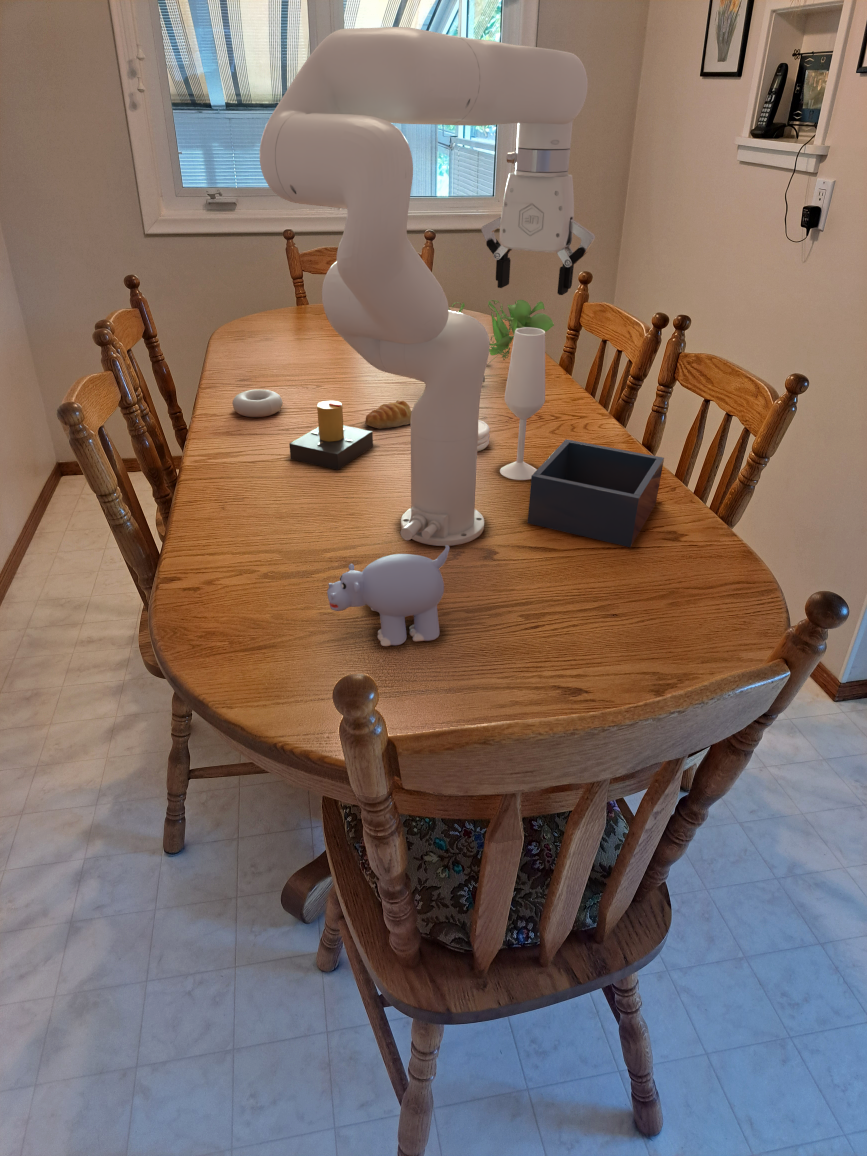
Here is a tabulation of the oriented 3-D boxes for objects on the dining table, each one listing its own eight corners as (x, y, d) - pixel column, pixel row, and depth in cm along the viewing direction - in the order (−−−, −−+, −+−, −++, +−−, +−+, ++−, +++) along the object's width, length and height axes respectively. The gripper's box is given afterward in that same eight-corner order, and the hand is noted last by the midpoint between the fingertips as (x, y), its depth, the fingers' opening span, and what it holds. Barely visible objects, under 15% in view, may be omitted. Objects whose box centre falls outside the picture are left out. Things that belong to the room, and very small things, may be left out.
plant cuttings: (389, 410, 179) (411, 376, 158) (376, 339, 180) (396, 295, 159) (528, 396, 189) (566, 362, 167) (515, 328, 190) (551, 286, 168)
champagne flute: (545, 476, 133) (559, 334, 120) (510, 482, 131) (520, 338, 118) (527, 461, 138) (538, 324, 126) (493, 466, 136) (501, 327, 124)
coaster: (494, 437, 148) (495, 419, 146) (482, 457, 140) (483, 438, 138) (443, 431, 150) (443, 413, 148) (429, 450, 142) (429, 432, 140)
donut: (254, 400, 164) (222, 414, 157) (253, 384, 163) (220, 397, 155) (293, 408, 160) (262, 423, 153) (291, 392, 159) (260, 406, 151)
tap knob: (314, 438, 138) (311, 404, 135) (327, 430, 142) (325, 397, 138) (335, 443, 137) (333, 408, 133) (348, 434, 140) (346, 401, 137)
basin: (630, 547, 113) (639, 498, 109) (527, 523, 119) (531, 475, 114) (655, 503, 125) (664, 457, 121) (560, 483, 131) (565, 439, 127)
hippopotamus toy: (325, 603, 100) (320, 539, 95) (439, 590, 103) (440, 526, 98) (335, 654, 91) (330, 585, 86) (459, 638, 94) (462, 570, 89)
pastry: (377, 433, 149) (376, 414, 147) (357, 423, 153) (357, 405, 151) (416, 422, 154) (416, 404, 152) (396, 413, 158) (395, 395, 156)
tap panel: (338, 470, 134) (337, 453, 133) (290, 459, 138) (288, 442, 137) (373, 446, 144) (372, 430, 142) (327, 436, 147) (326, 420, 146)
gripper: (475, 162, 110) (470, 288, 119) (594, 168, 103) (579, 301, 112) (495, 158, 115) (490, 279, 125) (609, 164, 109) (594, 291, 118)
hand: (532, 289), depth 119 cm, fingers open, 9 cm apart
